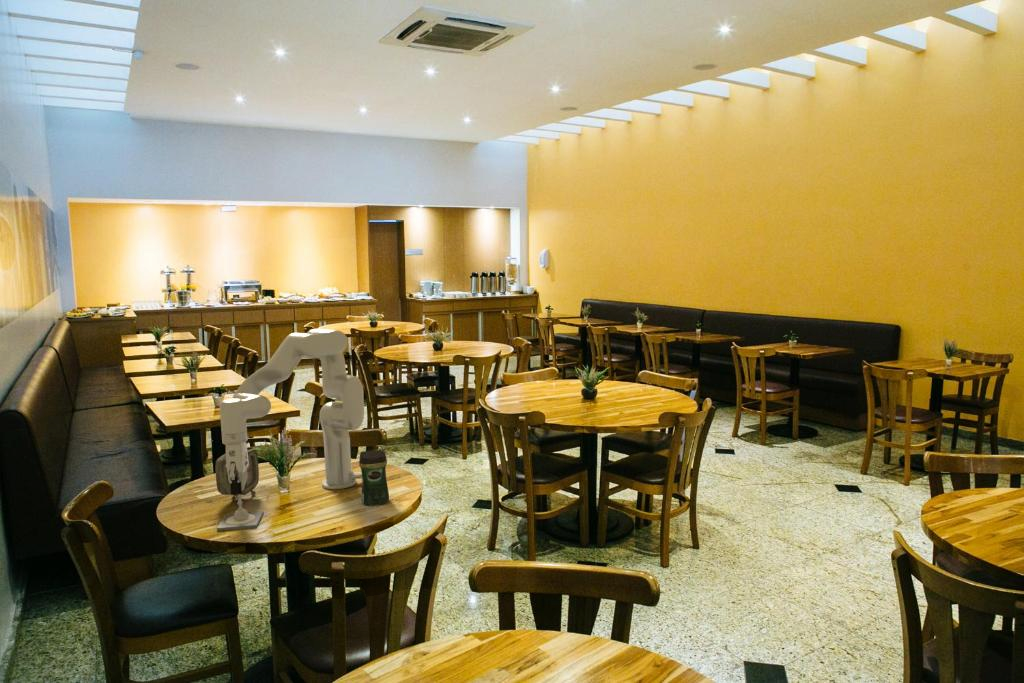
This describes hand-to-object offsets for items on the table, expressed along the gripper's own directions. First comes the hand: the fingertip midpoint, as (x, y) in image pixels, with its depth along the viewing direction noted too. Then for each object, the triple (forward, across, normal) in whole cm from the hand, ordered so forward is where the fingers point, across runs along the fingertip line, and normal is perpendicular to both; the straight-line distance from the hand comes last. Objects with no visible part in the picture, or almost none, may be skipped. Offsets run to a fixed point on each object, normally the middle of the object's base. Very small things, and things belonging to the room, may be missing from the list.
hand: (239, 490), depth 222 cm
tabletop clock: (+11, +21, +5) cm, 24 cm away
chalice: (+9, 0, 0) cm, 9 cm away
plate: (+11, 0, 0) cm, 11 cm away
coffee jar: (+11, +9, -43) cm, 45 cm away
